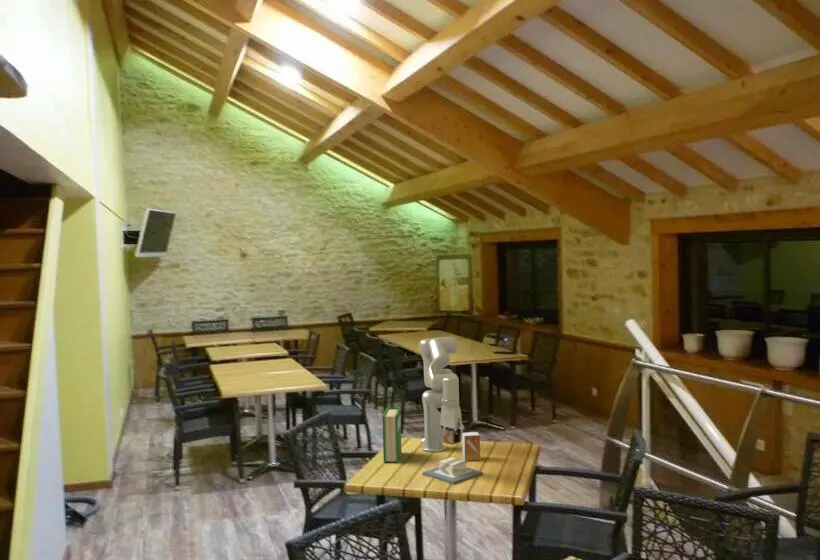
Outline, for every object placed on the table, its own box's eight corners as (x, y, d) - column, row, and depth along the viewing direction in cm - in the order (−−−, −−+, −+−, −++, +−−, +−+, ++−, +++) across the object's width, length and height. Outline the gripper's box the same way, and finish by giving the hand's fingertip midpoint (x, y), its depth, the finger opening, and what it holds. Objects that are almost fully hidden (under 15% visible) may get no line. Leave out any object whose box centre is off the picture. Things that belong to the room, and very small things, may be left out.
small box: (464, 461, 349) (464, 435, 348) (462, 457, 355) (461, 432, 355) (480, 460, 350) (480, 434, 349) (477, 456, 356) (477, 431, 356)
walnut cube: (442, 442, 328) (442, 429, 328) (451, 440, 332) (451, 427, 332) (452, 444, 324) (451, 432, 324) (460, 442, 328) (460, 429, 328)
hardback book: (398, 463, 349) (397, 415, 348) (383, 463, 350) (382, 415, 349) (401, 452, 367) (400, 407, 366) (387, 452, 367) (386, 407, 366)
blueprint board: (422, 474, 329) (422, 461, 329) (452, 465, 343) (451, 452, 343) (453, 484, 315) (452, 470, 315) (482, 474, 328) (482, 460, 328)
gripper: (432, 401, 331) (433, 439, 332) (458, 406, 319) (459, 445, 319) (443, 399, 336) (444, 436, 337) (470, 404, 324) (470, 442, 324)
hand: (451, 440), depth 328 cm, fingers closed on walnut cube, 6 cm apart
